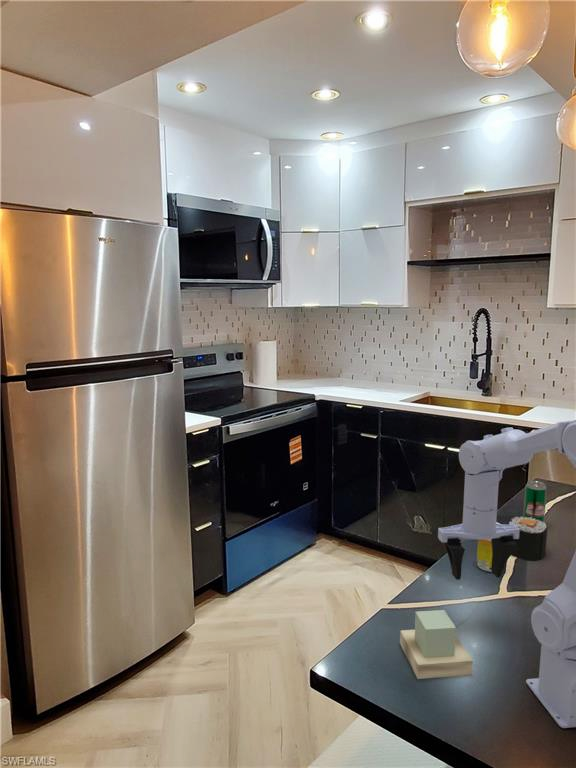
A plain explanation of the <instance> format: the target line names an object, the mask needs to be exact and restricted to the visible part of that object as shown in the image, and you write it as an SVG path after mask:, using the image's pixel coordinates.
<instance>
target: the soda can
mask: <svg viewBox="0 0 576 768" xmlns="http://www.w3.org/2000/svg"><path fill="white" fill-rule="evenodd" d="M524 487H525V488H524V489H525V490H524V501H523V504H524V505H523V516H522V517H523V518H525V517H526V518H527V517H528V518H530V517H532V519H533V518H535V520H538V521H542V523H543V522H544V523H545V516H546V513H545V512H546V501H547V486H546V484H545V483H544V482H543V481H540V480H539V481H538V480H528V481H527V483H526V484H525V486H524Z"/></svg>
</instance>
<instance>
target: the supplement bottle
mask: <svg viewBox="0 0 576 768" xmlns="http://www.w3.org/2000/svg"><path fill="white" fill-rule="evenodd" d="M496 524H501V523H500V522H497V521H496ZM476 566H477V567H478V568H480V569H481V570H482V571H484V572H488V573H492V567H491V566H492V542H491V539H489V540H480V539H477V551H476Z"/></svg>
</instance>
